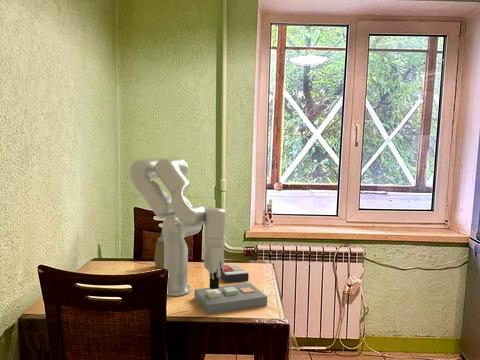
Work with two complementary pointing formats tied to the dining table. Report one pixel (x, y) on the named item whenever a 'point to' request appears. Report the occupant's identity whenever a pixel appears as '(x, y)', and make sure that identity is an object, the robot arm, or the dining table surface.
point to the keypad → (230, 299)
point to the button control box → (234, 274)
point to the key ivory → (213, 293)
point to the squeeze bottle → (159, 252)
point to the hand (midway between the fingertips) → (214, 288)
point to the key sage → (230, 291)
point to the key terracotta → (246, 290)
